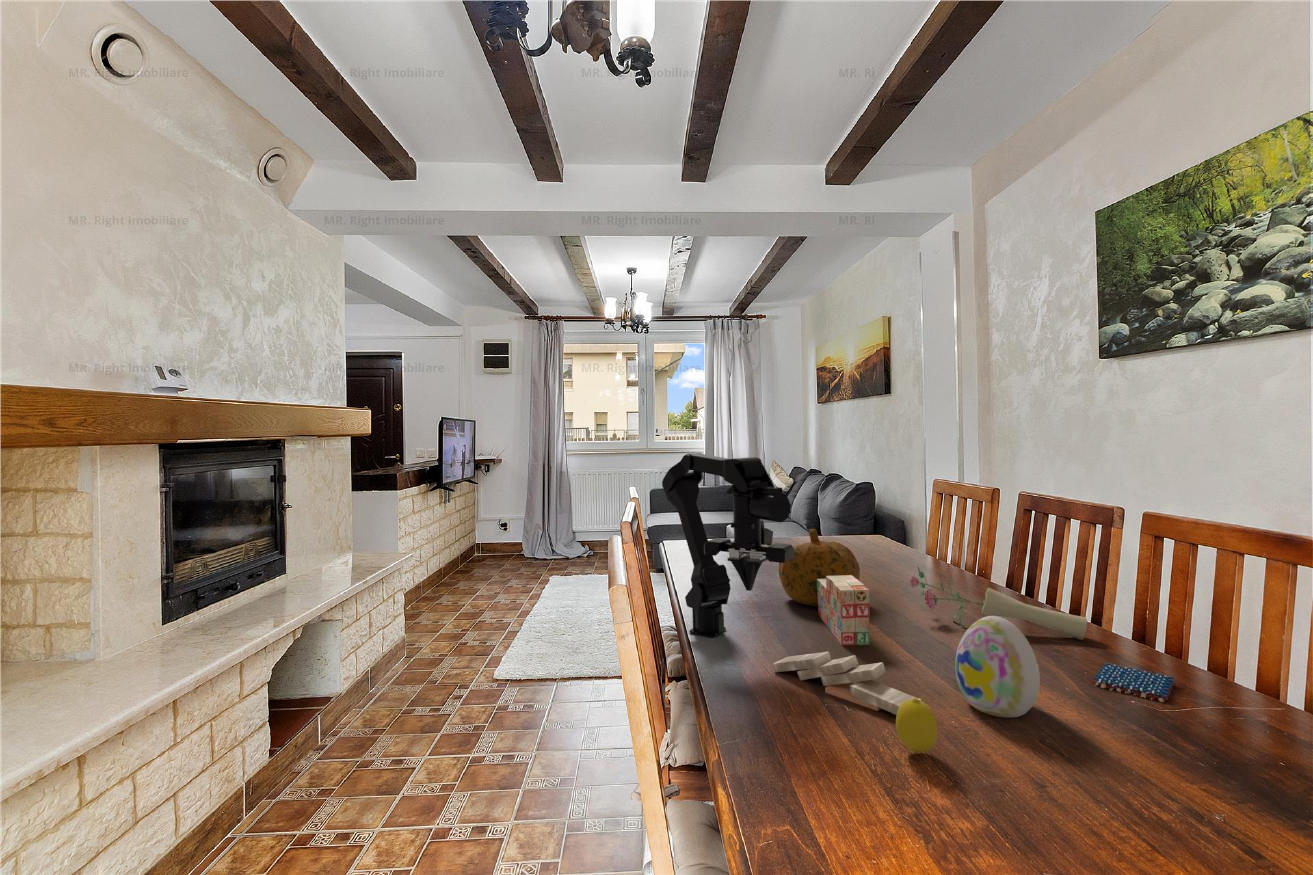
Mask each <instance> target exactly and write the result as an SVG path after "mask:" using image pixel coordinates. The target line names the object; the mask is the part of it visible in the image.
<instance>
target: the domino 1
mask: <svg viewBox="0 0 1313 875" xmlns="http://www.w3.org/2000/svg"><path fill="white" fill-rule="evenodd" d="M831 660H832V658H831V654H830V652H829V651H823V652H815V653H809V654H800V655H790V656H785V657H784V658H782V659H779V660H777V661H775V662H773V663H772V667H773V670H774V673H782V672H790V671H800V670H802V669H811V668H817V667H819V666H821V665H823V664H825V663H827V662H829V661H831Z"/></svg>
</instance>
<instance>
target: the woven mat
mask: <svg viewBox="0 0 1313 875" xmlns="http://www.w3.org/2000/svg"><path fill="white" fill-rule="evenodd" d="M1174 680H1175V676H1174V677H1173V676H1171V675H1170V676H1167V675H1164V674H1163V673H1161V674H1159V673H1153V672H1152V671H1146V670H1144V671H1143V670H1141V669H1136V668H1132V667H1127V666H1126V667H1123V666H1122V665H1116V664H1112V663H1111V662H1110V663H1109V662H1107V663H1104V664H1103V665H1102V667H1101V668H1100V670H1099V671H1097V673H1096V674H1095V677H1093V680H1092V679H1091V683H1092V684H1096V685H1095V686H1097V685H1098V686H1099V687H1100V688H1101V689H1104V688H1106V689H1108V690H1109V691H1110V692H1111V691H1112V690H1113V688H1114V690H1115V689H1116V692H1117V691H1118V692H1117V693H1122V692H1124V694H1126V693H1130V694H1133V696H1134V695H1137V696H1139V695H1140V696H1139V697H1140V698H1142V697H1144V698H1143V699H1147V698H1149V700H1150V699H1151V700H1150V701H1153V700H1154V699H1158V702H1159V703H1164V702H1165V701H1169V699H1170V698H1169V697H1170V694H1172V690H1173V687H1174V686H1175V685H1176V682H1175V681H1174ZM1107 685H1108V686H1107ZM1098 686H1097V687H1098ZM1114 690H1113V691H1114ZM1113 691H1112V692H1113ZM1121 691H1122V692H1121ZM1131 692H1132V693H1131ZM1146 697H1147V698H1146ZM1150 697H1151V698H1150ZM1152 699H1153V700H1152Z"/></svg>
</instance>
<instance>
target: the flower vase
mask: <svg viewBox="0 0 1313 875" xmlns="http://www.w3.org/2000/svg"><path fill="white" fill-rule="evenodd" d="M917 570H918V576H919V578H920V579H923V578H924V579H927V577H926V576H925V573H924V572H923V571H921V570H920V568H919V566H917ZM919 578H918V577H916V576H915V575H913V576H912V577H911V578H910V580H909V585H910V586H911V587H912V588H914V587H916V588H917V587H918V586H919V587H920V588H921V589H923V590H922V593H921V594H920V595H921V597H922V596H924V600H925V601H926V602H925V605H927V607H928V609H929V608H930V609H931V610H932V611H934V610H935V607H936V606H937V607H939V606H938V600H945V601H946V600H947V601H948V603H950V601H954V602H960V604H959V608H958V610H957V612H956V613H954V615H953V618H952V621H954V620H955V619H956V617H958V616H959V617H958V619H959V620H958V621H959V624H960V626H961V628H963V626H962V619H963V618H964V617H966V615H968V614H972V613H975V611H977V609H979V608H981V607H982V608H981V614H983V615H988V616H998V617H1002V618H1011V619H1016V620H1017V619H1018V620H1022V621H1023V620H1024V621H1027V622H1030V623H1032V624H1036V625H1038V626H1041V627H1045V628H1047V629H1051V630H1054V631H1057V632H1059V633H1062V634H1064V635H1067V636H1069V637H1073V639H1077V640H1080V641H1082V640H1084V638H1085V635H1086V633H1087V627H1088V618H1087V617H1086V616H1085V617H1084V616H1080V615H1074V614H1070V613H1065V612H1060V611H1055V610H1052V609H1051V610H1050V609H1048V608H1043V607H1039V606H1034V605H1031V604H1027V603H1024V602H1022V601H1020V600H1017V599H1015V598H1012V597H1010V596H1008V595H1007V594H1003V593H1002V592H999V591H997V590H996V589H995V590H994V589H993V588H990V587H987V589H986V592H985V594H984V596H983V601H982V603H981V602H975V601H971V600H969V599H966V597H964V595H963V594H961V593H959V592H958V591H957V590H956V592H955V594H954V593H952V589H951V581H952V580H951V579H949V582H948V588H949V590H950V592H948V591H946V590H944V583H943V582H944V581H941V582H940V588H939V587H937V586H934V585H931V584H928V581H927V580H925V582H926V583H925V582H920V581H919ZM926 586H928V587H929V588H927V590H926V591H924V589H926ZM930 587H931V589H930ZM934 589H937V590H940V591H942V592H943V593H946V594H948V595H950V598H949V596H946V597H945V598H941V597H937V596H936V591H933V590H934ZM960 595H961V596H962V597H961V596H960ZM951 597H952V598H951ZM963 597H964V598H963ZM962 603H968V604H967V606H970V604H975V605H976V604H977V605H980V606H977V607H975V611H971V612H966V613H965V614H963V610H964V609H965V606H963V605H962ZM959 611H960V613H961V614H958V613H959ZM962 614H963V616H962Z"/></svg>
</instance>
